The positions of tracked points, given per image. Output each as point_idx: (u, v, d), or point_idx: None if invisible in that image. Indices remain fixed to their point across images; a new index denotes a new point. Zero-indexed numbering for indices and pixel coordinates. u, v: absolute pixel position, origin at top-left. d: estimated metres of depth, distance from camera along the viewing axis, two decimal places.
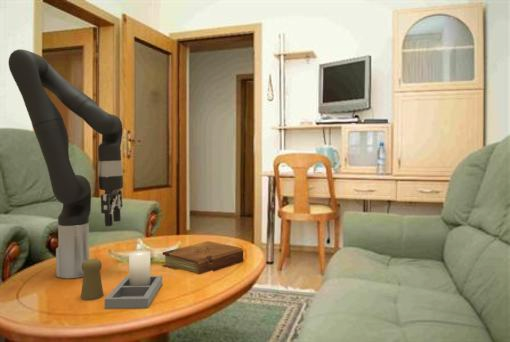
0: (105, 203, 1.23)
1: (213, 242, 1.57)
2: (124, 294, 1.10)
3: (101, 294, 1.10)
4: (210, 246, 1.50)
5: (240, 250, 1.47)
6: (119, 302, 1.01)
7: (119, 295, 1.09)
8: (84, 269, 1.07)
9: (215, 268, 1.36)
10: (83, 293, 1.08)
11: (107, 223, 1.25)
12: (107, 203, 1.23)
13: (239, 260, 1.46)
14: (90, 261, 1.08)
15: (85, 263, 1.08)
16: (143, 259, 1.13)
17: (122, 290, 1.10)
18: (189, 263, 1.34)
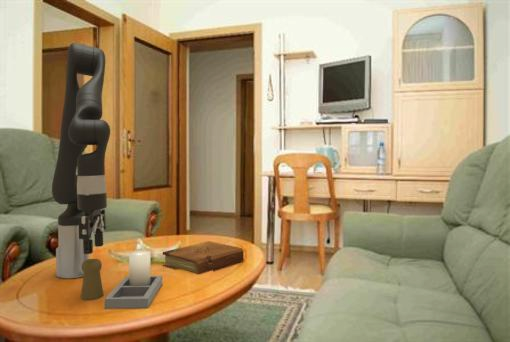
0: (84, 227, 1.02)
1: (214, 242, 1.57)
2: (124, 294, 1.10)
3: (101, 294, 1.10)
4: (210, 246, 1.50)
5: (240, 250, 1.47)
6: (119, 302, 1.01)
7: (119, 295, 1.09)
8: (84, 269, 1.07)
9: (214, 268, 1.36)
10: (83, 293, 1.08)
11: (87, 250, 1.04)
12: (86, 227, 1.02)
13: (239, 260, 1.46)
14: (90, 261, 1.08)
15: (85, 263, 1.08)
16: (143, 259, 1.13)
17: (122, 290, 1.10)
18: (188, 263, 1.34)
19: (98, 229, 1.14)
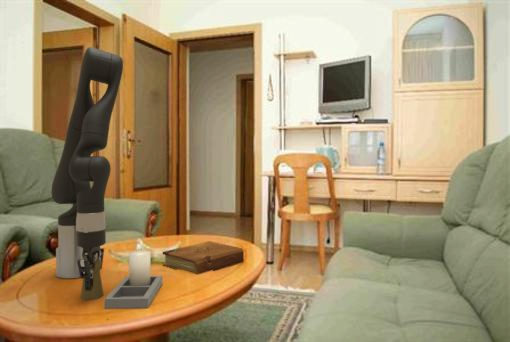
0: (84, 270, 1.04)
1: (214, 242, 1.57)
2: (124, 294, 1.10)
3: (101, 294, 1.10)
4: (211, 246, 1.50)
5: (240, 250, 1.46)
6: (119, 302, 1.01)
7: (119, 295, 1.09)
8: None
9: (214, 268, 1.36)
10: (83, 293, 1.08)
11: (88, 289, 1.07)
12: (86, 270, 1.04)
13: (239, 260, 1.46)
14: None
15: None
16: (143, 259, 1.13)
17: (122, 290, 1.10)
18: (188, 263, 1.34)
19: None
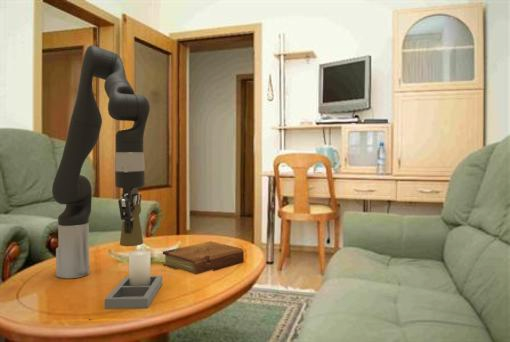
0: (125, 210, 1.00)
1: (215, 242, 1.57)
2: (124, 294, 1.10)
3: (141, 239, 1.05)
4: (211, 246, 1.50)
5: (240, 251, 1.46)
6: (119, 302, 1.01)
7: (119, 295, 1.09)
8: None
9: (213, 268, 1.36)
10: (123, 237, 1.04)
11: (128, 232, 1.03)
12: (127, 210, 1.00)
13: (239, 261, 1.46)
14: None
15: None
16: (143, 259, 1.13)
17: (122, 290, 1.10)
18: (187, 263, 1.34)
19: None
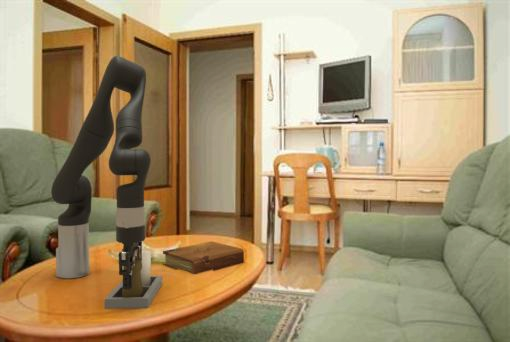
0: (124, 263, 0.99)
1: (216, 242, 1.57)
2: None
3: (142, 295, 1.07)
4: (211, 246, 1.50)
5: (240, 251, 1.46)
6: (119, 302, 1.01)
7: (119, 295, 1.09)
8: None
9: (212, 268, 1.36)
10: (124, 294, 1.05)
11: (126, 286, 1.02)
12: (126, 263, 0.99)
13: (239, 261, 1.45)
14: None
15: None
16: (144, 257, 1.13)
17: None
18: (186, 263, 1.35)
19: None
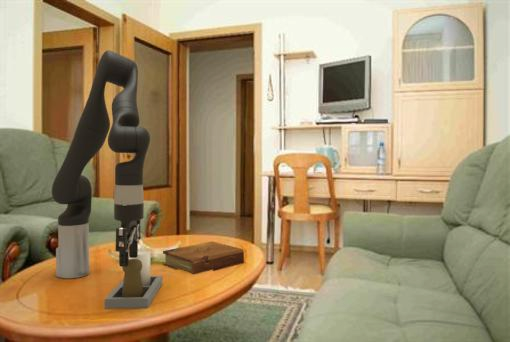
0: (121, 239, 0.98)
1: (216, 242, 1.57)
2: None
3: (142, 295, 1.07)
4: (212, 246, 1.50)
5: (240, 251, 1.46)
6: (119, 302, 1.01)
7: (119, 295, 1.09)
8: (125, 270, 1.05)
9: (212, 268, 1.36)
10: (124, 294, 1.05)
11: (122, 263, 1.00)
12: (123, 239, 0.98)
13: (239, 261, 1.45)
14: (131, 261, 1.06)
15: None
16: (143, 259, 1.13)
17: None
18: (186, 262, 1.35)
19: (133, 239, 1.10)
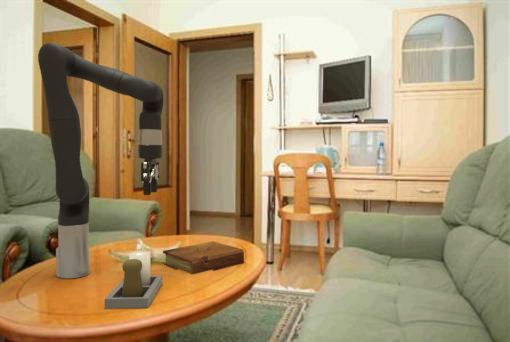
0: (145, 171, 1.21)
1: (217, 242, 1.57)
2: None
3: (142, 295, 1.07)
4: (212, 246, 1.50)
5: (240, 251, 1.45)
6: (119, 302, 1.01)
7: (119, 295, 1.09)
8: (125, 270, 1.05)
9: (211, 268, 1.36)
10: (124, 294, 1.05)
11: (146, 192, 1.23)
12: (147, 171, 1.21)
13: (239, 261, 1.45)
14: (131, 261, 1.06)
15: (126, 263, 1.05)
16: (143, 259, 1.13)
17: None
18: (185, 262, 1.35)
19: (153, 177, 1.33)
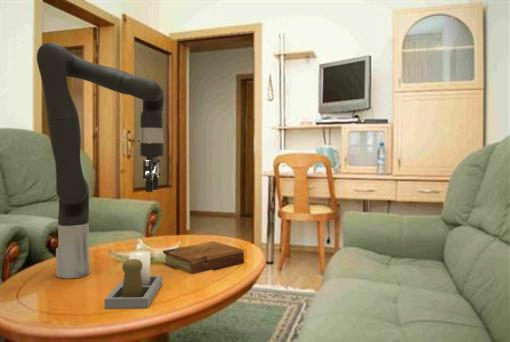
0: (147, 168, 1.24)
1: (217, 242, 1.57)
2: None
3: (142, 295, 1.07)
4: (212, 246, 1.50)
5: (240, 251, 1.45)
6: (119, 302, 1.01)
7: (119, 295, 1.09)
8: (125, 270, 1.05)
9: (211, 269, 1.36)
10: (124, 294, 1.05)
11: (148, 189, 1.26)
12: (149, 169, 1.24)
13: (239, 261, 1.44)
14: (131, 261, 1.06)
15: (126, 263, 1.05)
16: (143, 259, 1.13)
17: None
18: (185, 262, 1.35)
19: (154, 175, 1.35)
